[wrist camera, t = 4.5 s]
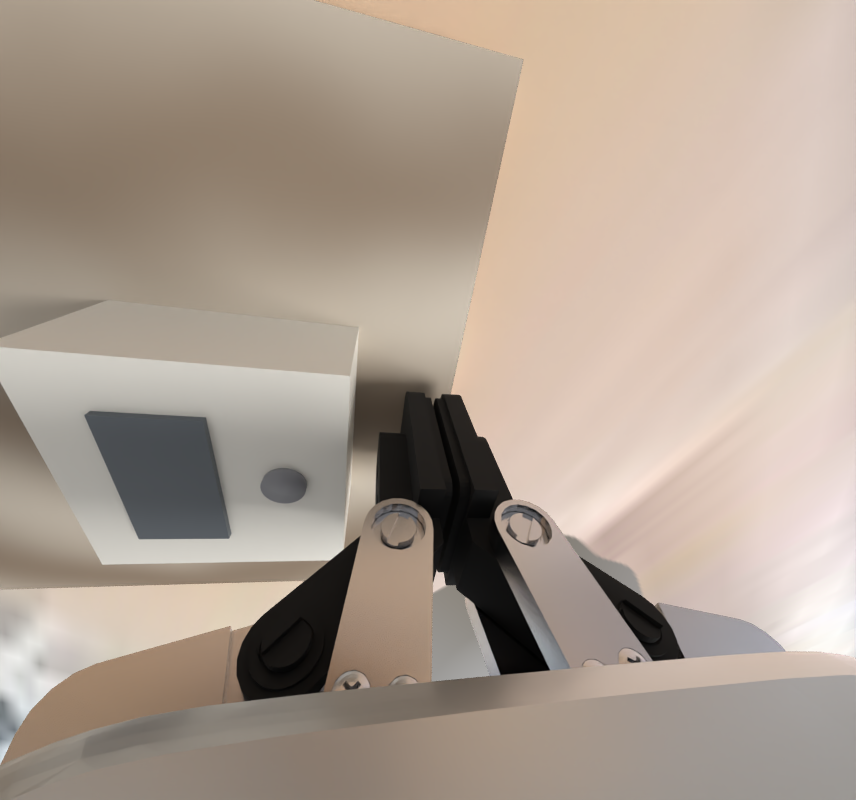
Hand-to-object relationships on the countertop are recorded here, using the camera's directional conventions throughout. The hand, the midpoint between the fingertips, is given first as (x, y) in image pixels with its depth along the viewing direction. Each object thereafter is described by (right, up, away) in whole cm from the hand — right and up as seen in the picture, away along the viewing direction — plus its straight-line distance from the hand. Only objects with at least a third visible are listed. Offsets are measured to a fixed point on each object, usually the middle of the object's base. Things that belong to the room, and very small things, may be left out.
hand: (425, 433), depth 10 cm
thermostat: (-5, +1, 0) cm, 5 cm away
